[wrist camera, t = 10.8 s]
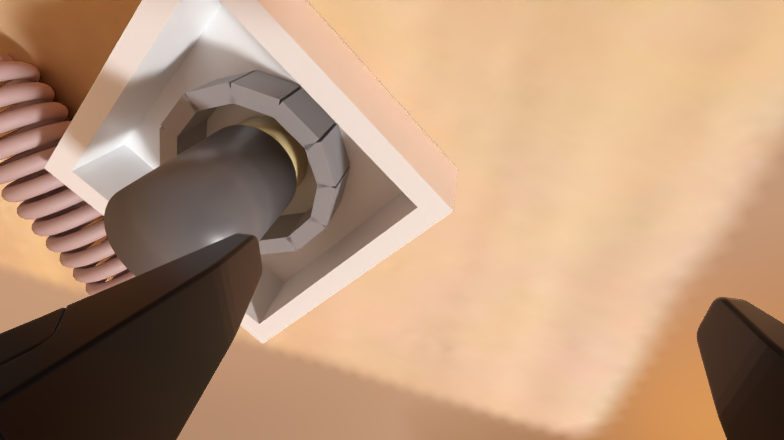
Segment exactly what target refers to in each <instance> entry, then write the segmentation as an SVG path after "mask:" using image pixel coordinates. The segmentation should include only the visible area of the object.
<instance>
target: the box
mask: <svg viewBox="0 0 784 440" xmlns="http://www.w3.org/2000/svg"><path fill="white" fill-rule="evenodd" d="M256 116H265V117H270V118H273V119H276V120H277V121H278V122H279V123H280V124H281V125H282V126H283V127H284V128H285V129H286V130H287V131H288V132H289V133H290V134H291V135H292V136H293V137H294V138H295V139H296V140H297V141H298V142H299V143H300V144H301V145H302V146H303V147H304V148H305V151H306V154H307V160H308V167H307V172H306V175H305V177H304V179H303V181H302V182H301V184H300V185H299V186H298V187H297V188H296V192H295V195H294V197H293V199H292V201H291V202H290V204H289V205H288V206H287V207H286V209H285V210H284V211H283V212H282V214H281V215H280V216H279V217H278V218H277V220H276V221H275V222H274V223H273V225H272V226H271V227H270V228H269V230H268V231H267V232H266V233H265V234H264V236H263V237H262V238H261V239H260V241H259V247H260V254H261V260H262V275H261V278H260V281H259V283H258V285H257V287H256V290H255V292H254V294H253V297H252V299H251V301H250V304H249V306H248V308H247V311H246V313H245V315H244V318H243V320H242V322H241V325H240V326H241V327H242V328H244V329H245V330H246V331H247V332H249V333H250V334H251V335H252V336H254V337H255V338H256V339H257V340H258V341H260V342H261V343H262V344H263V343H265V342H266V341H268V340H269V339H271V338H272V337H273V336H275V335H276V334H278V333H279V332H281V331H282V330H283V329H285V328H286V327H288V326H289V325H291V324H292V323H294V322H295V321H296V320H298V319H299V318H301V317H302V316H304V315H305V314H306V313H308V312H309V311H311V310H312V309H314V308H315V307H317V306H318V305H319V304H321V303H322V302H324V301H325V300H327V299H328V298H329V297H331V296H332V295H334V294H335V293H337V292H338V291H340V290H341V289H342V288H344V287H345V286H347V285H348V284H350V283H351V282H352V281H354V280H355V279H357V278H358V277H360V276H361V275H363V274H364V273H365V272H367V271H368V270H370V269H371V268H373V267H374V266H375V265H377V264H378V263H380V262H381V261H383V260H384V259H386V258H387V257H388V256H390V255H391V254H393V253H394V252H396V251H397V250H398V249H400V248H401V247H403V246H404V245H406V244H407V243H409V242H410V241H411V240H413V239H414V238H416V237H417V236H419V235H420V234H421V233H423V232H424V231H426V230H427V229H429V228H430V227H432V226H433V225H434V224H436V223H437V222H439V221H440V220H442V219H443V218H444V217H446V216H447V215H449V214H450V213H452V212H453V211H454V203H455V194H456V185H457V177H458V169H457V168H456V167H455V166H454V165H453V164H452V163H451V162H450V160H449V159H448V158H447V157H446V156H445V155H444V154H443V153H442V151H441V150H440V149H439V148H438V147H437V146H436V145H435V144H434V143H433V141H432V140H431V139H430V138H429V137H428V136H427V135H426V134H425V132H424V131H423V130H422V129H421V128H420V127H419V126H418V125H417V124H416V122H415V121H414V120H413V119H412V118H411V117H410V116H409V115H408V113H407V112H406V111H405V110H404V109H403V108H402V107H401V106H400V105H399V103H398V102H397V101H396V100H395V99H394V98H393V97H392V96H391V95H390V93H389V92H388V91H387V90H386V89H385V88H384V87H383V86H382V84H381V83H380V82H379V81H378V80H377V79H376V78H375V77H374V76H373V74H372V73H371V72H370V71H369V70H368V69H367V68H366V67H365V65H364V64H363V63H362V62H361V61H360V60H359V59H358V58H357V57H356V55H355V54H354V53H353V52H352V51H351V50H350V49H349V48H348V47H347V45H346V44H345V43H344V42H343V41H342V40H341V39H340V38H339V36H338V35H337V34H336V33H335V32H334V31H333V30H332V29H331V28H330V26H329V25H328V24H327V23H326V22H325V21H324V20H323V19H322V17H321V16H320V15H319V14H318V13H317V12H316V11H315V10H314V9H313V7H312V6H311V5H310V4H309V3H308V2H307V1H306V0H142V1H141V3H140V5H139V6H138V8H137V10H136V12H135V13H134V15H133V17H132V18H131V20H130V22H129V24H128V25H127V27H126V29H125V30H124V32H123V34H122V36H121V37H120V39H119V41H118V42H117V44H116V46H115V47H114V49H113V51H112V53H111V54H110V56H109V58H108V59H107V61H106V63H105V65H104V66H103V68H102V70H101V71H100V73H99V75H98V77H97V78H96V80H95V82H94V83H93V85H92V87H91V89H90V90H89V92H88V94H87V95H86V97H85V99H84V101H83V102H82V104H81V106H80V107H79V109H78V111H77V113H76V114H75V116H74V118H73V119H72V121H71V123H70V125H69V126H68V128H67V130H66V131H65V133H64V135H63V137H62V138H61V140H60V142H59V143H58V145H57V147H56V149H55V150H54V152H53V154H52V155H51V157H50V159H49V161H48V162H47V164H46V166H45V167H44V168H45V169H46V170H47V171H48V172H50V173H51V174H52V175H53V176H55V177H56V178H57V179H58V180H60V181H61V182H62V183H63V184H64V185H66V186H67V187H68V188H69V189H71V190H72V191H73V192H74V193H76V194H77V195H78V196H79V197H81V198H82V199H83V200H84V201H86V202H87V203H88V204H89V205H91V206H92V207H93V208H94V209H96V210H97V211H98V212H99V213H101V214H102V215H103V216H104V214H105V209H106V206H107V203H108V202H109V200H110V199H111V197H112V196H113V195H114V194H115V193H117V192H118V191H119V190H121V189H123V188H124V187H126V186H128V185H129V184H131V183H132V182H134V181H136V180H137V179H139V178H141V177H142V176H144V175H146V174H147V173H149V172H151V171H152V170H154V169H156V168H157V167H159V166H160V165H162V164H164V163H165V162H167V161H169V160H170V159H172V158H174V157H175V156H177V155H179V154H180V153H182V152H184V151H185V150H187V149H188V148H190V147H192V146H193V145H195V144H197V143H198V142H200V141H202V140H203V139H205V138H207V137H208V136H210V135H212V134H213V133H215V132H216V131H218V130H220V129H222V128H224V127H227V126H232V125H237V124H239V123H240V122H242V121H243V120H245V119H248V118H251V117H256Z"/></svg>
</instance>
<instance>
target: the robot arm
mask: <svg viewBox="0 0 784 440" xmlns="http://www.w3.org/2000/svg"><path fill="white" fill-rule="evenodd" d="M261 275H262V260H261V254H260V247H259V241H258V239H257V237H256V236H254V235H249V234H242V233H236V234H234V235H231V236H229V237H227V238H224V239H222V240H220V241H217V242H215V243H213V244H210V245H208V246H206V247H203V248H201V249H199V250H196V251H194V252H192V253H189V254H187V255H185V256H182V257H180V258H178V259H175V260H173V261H171V262H168V263H166V264H164V265H161V266H159V267H157V268H154V269H152V270H150V271H147V272H145V273H143V274H140V275H138V276H136V277H133V278H131V279H129V280H126V281H124V282H122V283H119V284H117V285H115V286H112V287H110V288H108V289H105V290H103V291H101V292H98V293H96V294H94V295H91V296H89V297H87V298H84V299H82V300H80V301H77V302H75V303H72V304H70V305H68V306H67V307H66V308H61V309H58V310H56V311H54V312H51V313H49V314H47V315H44V316H42V317H40V318H37V319H35V320H32V321H30V322H28V323H25V324H23V325H20V326H18V327H16V328H13V329H11V330H8V331H6V332H3V333H1V334H0V440H176V439H177V437H178V436H179V434H180V432H181V431H182V429H183V427H184V425H185V423H186V422H187V420H188V418H189V417H190V415H191V413H192V411H193V410H194V408H195V406H196V404H197V403H198V401H199V399H200V397H201V395H202V394H203V392H204V390H205V389H206V387H207V385H208V383H209V382H210V380H211V378H212V376H213V375H214V373H215V371H216V369H217V368H218V366H219V364H220V362H221V361H222V359H223V357H224V355H225V354H226V352H227V350H228V348H229V347H230V345H231V343H232V341H233V339H234V337H235V335H236V333H237V331H238V329H239V327H240V325H241V322H242V320H243V318H244V315H245V313H246V311H247V308H248V306H249V304H250V301H251V299H252V297H253V294H254V292H255V290H256V287H257V285H258V283H259V281H260V278H261ZM697 342H698V346H699V349H700V353H701V357H702V360H703V364H704V368H705V371H706V375H707V378H708V382H709V385H710V389H711V393H712V397H713V400H714V404H715V407H716V410H717V413H718V417H719V420H720V422H721V425H722V428H723V430H724V433H725V435H726V437H727V440H784V324H783V323H782V322H780V321H778V320H777V319H775V318H773V317H772V316H770V315H768V314H767V313H765V312H764V311H762V310H760V309H758V308H757V307H755V306H754V305H752V304H750V303H749V302H747V301H745V300H741V299H735V298H727V297H719V298H717V299H715V300H714V301H713V303H712V304H711V306H710V308H709V310H708V311H707V313H706V315H705V317H704V319H703V321H702V322H701V324H700V326H699V328H698V331H697Z"/></svg>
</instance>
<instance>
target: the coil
mask: <svg viewBox="0 0 784 440" xmlns="http://www.w3.org/2000/svg"><path fill="white" fill-rule="evenodd" d="M39 79H40V72H39V70H38V69H37V68H36V67H35V66H33V65H32V64H30V63H26V62H20V61H14V60H13V59H12V57H11V56H10V55H9V54H4V55H2V56H1V57H0V82H3V81H8V80H11V81H9V82H8V83H6V84H4V85H2V86H1V87H0V108H1V107H4V106H8V105H11V104H15V103H18V104H16V105H14V106H13V107H11V108H9V109H7V110H5V111H3V112H1V113H0V134H1V133H4V132H7V131H10V130H13V129H16V128H19V127H21V128H19V129H17V130H15V131H13V132H11V133H9V134H7V135H5V136H3V137H1V138H0V160H2V159H4V158H7V157H10V156H12V155H15V154H17V155H15V156H13V157H11V158H9V159H7V160H5V161H3V162H1V163H0V184H4V183H7V182H10V181H13V180H15V181H13V182H12V183H10V184H9V185H7V186H6V187H5V188H4V189H3V190H2V197H3V198H4V200H6V201H8V202H20V201H23V202H22V203H21V204H20V205H19V207H18V208H17V214H18V215H19V217H21V218H23V219H36V220H35V221H34V223H33V224H32V231H33V232H34V233H35V234H37V235H39V236H49V237H48V238H47V240H46V246H47V248H48V249H49V250H51V251H53V252H62V253H61V254H60V262H61V263H62V265H63V266H66V267H68V268H74V269H73V276H74V278H75V279H76V280H77V281H79V282H82V283H86V291H87V293H88V294H89V295H94V294H96V293H98V292H101V291H103V290H105V289H108V288H110V287H112V286H115V285H117V284H119V283H122V282H124V281H126V280H129V279H131V278H133V277H136V276H135V275H134V274H133V273H131V272H130V271H129V270H128V269H127V268H126V267H125V266H124V265H123V263H122V262H121V261H120V260H119V258H118V257H117V255H116V254H115V253H114V251H113V249H112V247H111V245H110V243H109V241H108V238H107V239H105V240H104V241H102V242H101V243H100V244H98V245H96V246H93V247H91V248H88V247H89V246H90V245H92V244H93V243H94V242H96V241H97V240H99V239H101V238H103V237H105V236H107V235H106V232H105V226H104V219H103V220H101V221H100V222H98V223H95V224H93V225H91V226H89V227H86V228H84V229H82V228H83V227H85V226H86V225H88V224H89V223H91V222H92V221H94V220H95V219H97V218H98V217H100V216H102V214H101V213H99V212H98V211H97V210H96V209H94V208H93V207H92V206H91V205H89V204H87V205H85V206H82V205H84V204H86V203H87V202H86V201H84V200H83V199H82V198H81V197H79V196H78V195H77V194H76V193H74V192H73V191H72V190H71V189H69V188H68V187H67V186H66V185H64V184H63V183H62V182H61V181H60V180H58V179H57V178H56V177H55V176H53V175H52V174H51V173H50V172H48V171H47V170H46V169H45V168H44V167H45V166H46V164H47V162H48V161H49V159H50V157H51V155H52V154H53V152H54V150H55V149H56V147H57V145H58V143H59V142H60V140H61V138H62V137H63V135H64V133H65V131H66V130H67V128H68V126H69V125H70V123H71V121H64V120H65V119H66V118H67V117H68V110H67V107H65V106H64V105H63V104H61V103H57V102H52V100H53V99H54V95H55V93H54V91H53V89H52V88H51V87H50V86H49V85H47V84H44V83H40V82H39ZM19 102H20V103H19ZM22 126H23V127H22ZM18 153H19V154H18ZM16 179H17V180H16ZM24 200H25V201H24ZM81 206H82V207H81ZM79 207H80V208H79ZM81 229H82V230H81ZM87 248H88V249H87ZM113 254H115V255H113ZM111 255H113V256H112V257H111V258H109V259H108V260H107V261H105V262H104V263H103V264H100V265H98V266H95V265H96V264H97V263H99V262H100V261H101V260H102V259H105V258H107V257H109V256H111ZM116 274H117V275H116ZM114 275H116V276H115V277H114V278H113V279H112V280H110V281H107V282H105V281H106V280H107V278H109V277H111V276H114Z"/></svg>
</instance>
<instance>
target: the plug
mask: <svg viewBox="0 0 784 440" xmlns="http://www.w3.org/2000/svg"><path fill="white" fill-rule="evenodd" d="M307 167H308V160H307V154H306V151H305V148H304V147H303V146H302V145H301V144H300V143H299V142H298V141H297V140H296V139H295V138H294V137H293V136H292V135H291V134H290V133H289V132H288V131H287V130H286V129H285V128H284V127H283V126H282V125H281V124H280V123H279V122H278V121H277V120H276V119H273V118H270V117H265V116H256V117H251V118H248V119H245V120H243V121H242V122H240V123H239V124H237V125H232V126H227V127H224V128H222V129H220V130H218V131H216V132H215V133H213V134H212V135H210V136H208V137H207V138H205V139H203V140H202V141H200V142H198V143H197V144H195V145H193V146H192V147H190V148H188V149H187V150H185V151H184V152H182V153H180V154H179V155H177V156H175V157H174V158H172V159H170V160H169V161H167V162H165V163H164V164H162V165H160V166H159V167H157V168H156V169H154V170H152V171H151V172H149V173H147V174H146V175H144V176H142V177H141V178H139V179H137V180H136V181H134V182H132V183H131V184H129V185H128V186H126V187H124V188H123V189H121V190H119V191H118V192H117V193H115V194H114V195H113V196H112V197H111V199H110V200H109V202H108V203H107V206H106V209H105V214H104V226H105V232H106V235H107V238H108V241H109V243H110V245H111V247H112V249H113V251H114V253H115V254H116V255H117V257H118V258H119V260H120V261H121V262H122V263H123V265H124V266H125V267H126V268H127V269H128V270H129V271H130V272H131V273H133V274H134V275H135V276H138V275H140V274H143V273H145V272H147V271H150V270H152V269H154V268H157V267H159V266H161V265H164V264H166V263H168V262H171V261H173V260H175V259H178V258H180V257H182V256H185V255H187V254H189V253H192V252H194V251H196V250H199V249H201V248H203V247H206V246H208V245H210V244H213V243H215V242H217V241H220V240H222V239H224V238H227V237H229V236H231V235H234V234H236V233H242V234H249V235H254V236H256V237H257V239H258V241H260V239H261V238H262V237H263V236H264V234H265V233H266V232H267V231H268V230H269V228H270V227H271V226H272V225H273V223H274V222H275V221H276V220H277V218H278V217H279V216H280V215H281V214H282V212H283V211H284V210H285V209H286V207H287V206H288V205H289V204H290V202H291V201H292V199H293V197H294V195H295V192H296V188H297V187H298V186H299V185H300V184H301V182H302V181H303V179H304V177H305V175H306V172H307Z"/></svg>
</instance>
